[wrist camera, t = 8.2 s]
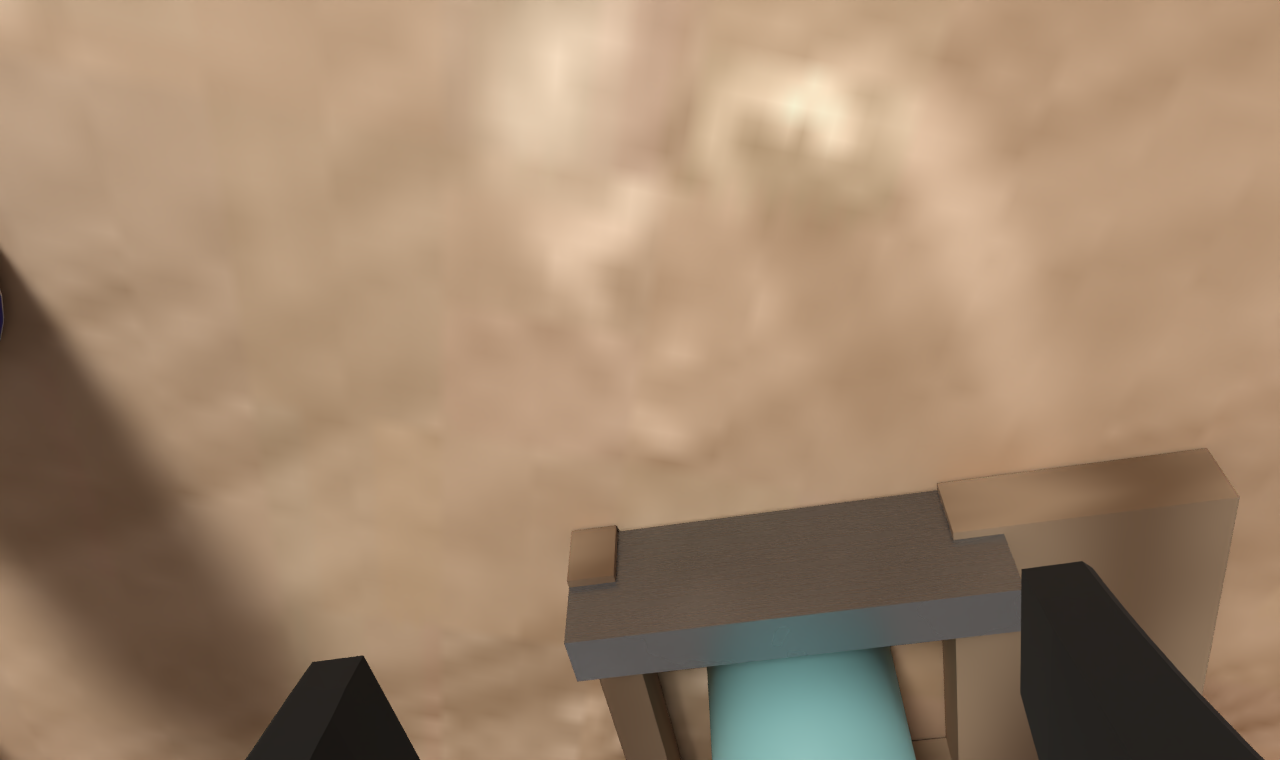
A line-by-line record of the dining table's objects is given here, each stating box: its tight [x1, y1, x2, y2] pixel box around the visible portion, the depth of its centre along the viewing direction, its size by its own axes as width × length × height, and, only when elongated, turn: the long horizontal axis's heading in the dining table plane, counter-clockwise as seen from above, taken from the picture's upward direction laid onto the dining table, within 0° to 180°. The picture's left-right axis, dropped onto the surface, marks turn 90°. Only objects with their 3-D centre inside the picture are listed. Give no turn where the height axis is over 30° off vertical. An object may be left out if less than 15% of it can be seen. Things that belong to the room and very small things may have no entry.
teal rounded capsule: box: [707, 646, 916, 760], centre depth 23 cm, size 4×4×6 cm
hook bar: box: [564, 490, 1021, 681], centre depth 22 cm, size 9×1×3 cm, turn 101°
